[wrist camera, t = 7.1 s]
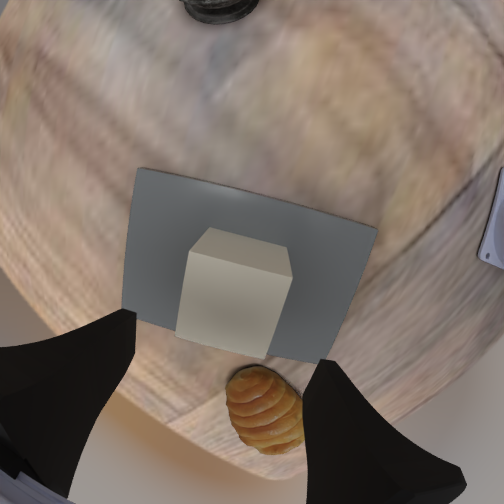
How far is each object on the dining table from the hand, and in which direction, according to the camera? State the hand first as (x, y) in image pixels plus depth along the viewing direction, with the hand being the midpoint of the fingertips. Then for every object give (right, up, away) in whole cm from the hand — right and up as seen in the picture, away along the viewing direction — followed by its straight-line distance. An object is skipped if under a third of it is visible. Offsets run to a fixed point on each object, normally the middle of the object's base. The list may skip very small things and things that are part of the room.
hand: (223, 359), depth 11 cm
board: (0, +3, +9) cm, 10 cm away
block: (0, +3, +9) cm, 9 cm away
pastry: (+2, -10, +14) cm, 17 cm away
